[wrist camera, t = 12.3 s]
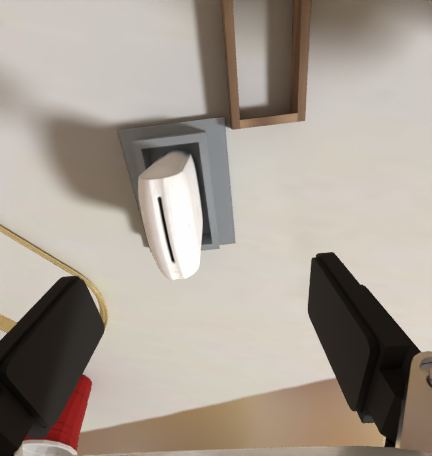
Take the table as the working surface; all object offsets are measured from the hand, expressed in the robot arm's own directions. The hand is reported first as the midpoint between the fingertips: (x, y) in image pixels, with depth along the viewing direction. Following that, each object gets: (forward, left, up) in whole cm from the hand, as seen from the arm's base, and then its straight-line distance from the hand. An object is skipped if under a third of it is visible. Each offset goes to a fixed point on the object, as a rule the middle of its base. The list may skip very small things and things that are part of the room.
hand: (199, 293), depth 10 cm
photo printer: (+3, +2, -21) cm, 21 cm away
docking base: (+3, +2, -22) cm, 22 cm away
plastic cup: (+31, +39, -22) cm, 54 cm away
